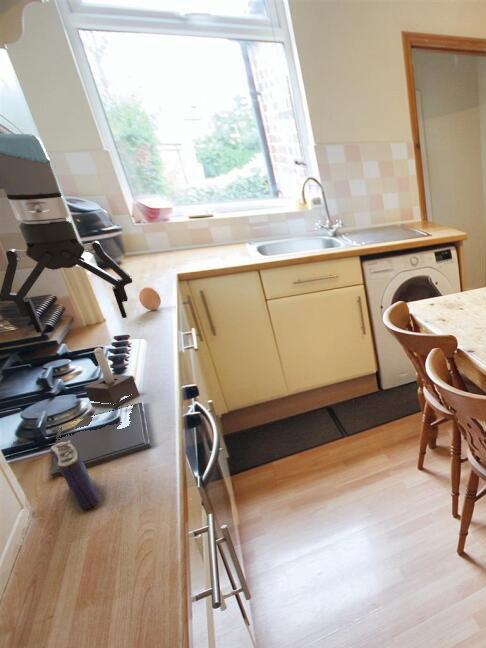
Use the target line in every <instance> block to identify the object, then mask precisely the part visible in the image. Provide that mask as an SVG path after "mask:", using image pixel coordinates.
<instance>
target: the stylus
mask: <svg viewBox="0 0 486 648" xmlns="http://www.w3.org/2000/svg"><path fill="white" fill-rule="evenodd" d="M93 353H94V357H95V359H96V361H97V363H98V366H99V369H100V372H101V374H102V378H103V377H104V379H105V382H106V384H110V383H112V382H114V378H113V375H112V374H113V373H112V370H111V367H110V365H109V362H108V360H107V358H106V354H105V351H104V349H103V348H101V347H96V348H94V350H93Z"/></svg>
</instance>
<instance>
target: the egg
mask: <svg viewBox="0 0 486 648" xmlns="http://www.w3.org/2000/svg"><path fill="white" fill-rule="evenodd" d="M138 297H139V298H138V299H139V302H140V304H141V306H142V307H143V308H144V309H146V310H148V311H156V310H158V309H159V307H160V306H161V303H162V300H161V296H160V294H159V293H158V291H157V290H155V289H154V288H152V287H150V286H145V287H143V288H142V289H141V290H140V291H139V294H138Z"/></svg>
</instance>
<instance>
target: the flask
mask: <svg viewBox="0 0 486 648" xmlns="http://www.w3.org/2000/svg"><path fill="white" fill-rule="evenodd" d="M70 443H71V441H69V440H68V442H60V443H58V444H56V443H55V444H53V445H52V446H51V447H50V453H51V454H52V456H53V458H55V460H56V461H57V463H58V467H59V469H60V471H61V472H62V474H63V475H62V477H63V478H64V480H65V482H66V484H67V486H68V489H69V490H70V492H71V495H72V496H73V498H74V500H75V502H76V504H77V506H78V508H79V510H80V512H89V511H92V510H94V509H96V508H98V506H99V505H100V503H101V496H100V493H99V492H98V490H97V488H96V486H95V485H94V483H93V480H92V478H91V476H90V473H89V471H88V470H87V468H86V467H85V465H84V463H83V461H82V459H81V457H80V454H79V452H78V450H77V449H76V448H75V447H74V446H73V445H72V444H70Z"/></svg>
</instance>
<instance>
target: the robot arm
mask: <svg viewBox="0 0 486 648" xmlns="http://www.w3.org/2000/svg"><path fill="white" fill-rule="evenodd" d="M0 190H3V191H4V193H5V195H6V198H7V200H8V202H9V205H10V207H11V210H12V212H13V215H14V218H15V220H16V221H19V222H21V223H19V225H18V228H19V230H20V233H21V235H22V237H23V240H24V242H25V246H26V249H15V248H8V249H7V251H6V252H5V256H6V260H7V266H6V269H5V274H4V278H3V282H2V284H1V289H0V301H2V302H3V301H4V302H6V301H10V302H14V304H16V307H17V309H18V311H19V313H20V316H22V317H23V318H27V317H29V318H30V321H31V323H32V326H33V327H34V329H35V332H36V334H39V333H43V330H44V327H43V324H42V322H41V319H40V317H39V315H38V312H37V309H36V308H35V305H34V303H33V301H32V299H31V297H28V298H25V297H26V296H27V295H28V294H29V292H30V290H31V289H32V288H33V286H34V285H35V283H36V282H37V280H38V279H39V277H40V276H41V274H42V273H43V271H45V269H48V270H52V271H55V270H60V269H71V268H74V267H76V266H78V267H80V268H82V269H85V270H87V272H90V273H92V274H93V275H95V276H97V277H99V278H100V279H102V280H103V281H105V282H106V283H109V284H111V285H112V286H111V287H112V289H111V290H112V292H113V296H114V297H115V300H116V304H117V307H118V309H119V312H120V316H121V318H122V319H127V317H128V316H127V311H126V309H125V306H124V304H123V303H124V302H125V303H126V302H128V301H129V300H128V299H129V298H128V295H127V291H126V289H125V286H127V285H129V284H132V283H133V277H132V276H131V275H130V274H129V273H128V272H127V271H126V270H125V269H123V267H121V266H120V264H118V263H117V261H115V260H114V259H113V258H112V257H111V256H109V254H108V253H107V252H105V250H104V248H103V246H102V245H101V243H100V242H99V241H98V240H93V241H92V242H89V243H83V244H82V243H81V242H80V241H79V238H78V236H77V233H76V230H75V228H74V224H73V222H72V221H71V220H69V219H68V218H69V217H70V214H69V210H68V208H67V205H66V201H65V199H64V196H63V195H62V192H61V190H60V187H59V184H58V181H57V178H56V175H55V172H54V169H53V167H52V162H51V159H50V157H49V156H48V153H47V151H46V148H45V146H44V145H43V142H42V140H41V139H40V138H39V137H38V136H37V135H35V134H30V133H0ZM85 251H88V252H90V253H91V254H93V255H94V254H96V256H97V257H98V258H99V259H100V260H101V261H102V262H103V263H104V264H106V266H108V268H110V269H111V270H112V271H113V272H114V273H115V274H116V275H118V277H120V279H119V278H117V277H116V276H114V275H112V274H110V273H109V272H107V271H106V270H104V269H102V268H100V267H98V266H97V265H96V264H94V263H92V262H90V261H89V260H88V259H87V258H85V257H83V254H84V253H85ZM26 256H27V257H28V258H30V259H32V260H33V261H34V262H36V265H35V266H34V267H33V268H32V270H31V272H30V273H29V275H28V276H27V278H25V281H24V282H23V283H22V285H21V286H20V288H19V289H18V291H16V292H12V290H13V286H14V284H15V283H14V282H15V279H16V275H17V272H18V268H19V263H20V262H22V261H23V260H24V258H25V257H26Z"/></svg>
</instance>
